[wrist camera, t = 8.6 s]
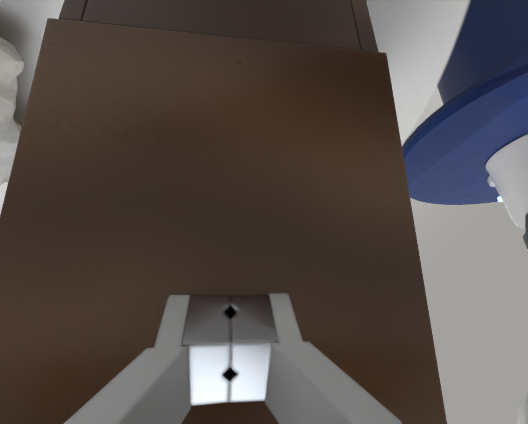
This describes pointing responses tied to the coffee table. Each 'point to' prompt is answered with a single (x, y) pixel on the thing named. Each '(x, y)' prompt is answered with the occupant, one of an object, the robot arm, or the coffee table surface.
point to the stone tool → (8, 106)
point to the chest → (239, 19)
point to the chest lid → (206, 213)
